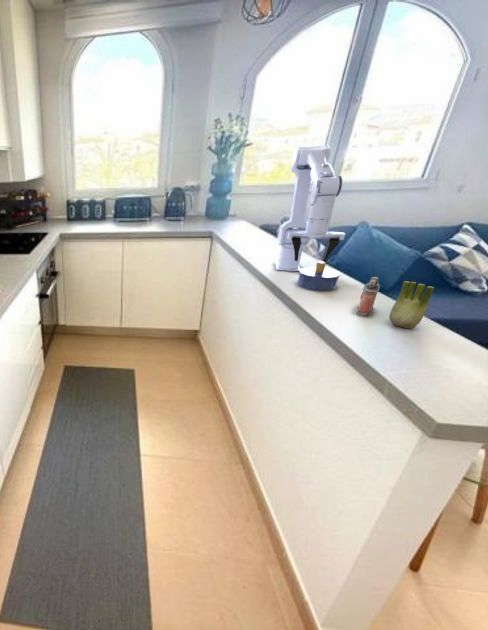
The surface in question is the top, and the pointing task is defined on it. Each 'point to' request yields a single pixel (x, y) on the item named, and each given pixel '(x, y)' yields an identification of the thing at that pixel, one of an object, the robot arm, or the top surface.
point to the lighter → (368, 297)
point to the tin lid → (319, 271)
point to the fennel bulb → (410, 305)
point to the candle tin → (317, 283)
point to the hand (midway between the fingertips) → (309, 260)
